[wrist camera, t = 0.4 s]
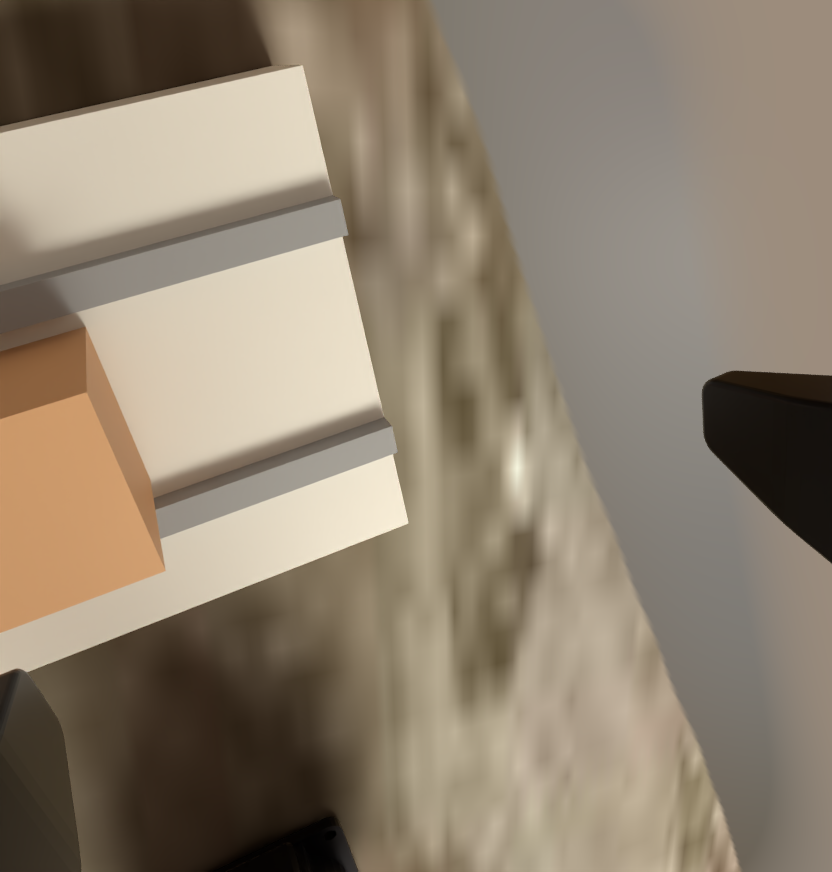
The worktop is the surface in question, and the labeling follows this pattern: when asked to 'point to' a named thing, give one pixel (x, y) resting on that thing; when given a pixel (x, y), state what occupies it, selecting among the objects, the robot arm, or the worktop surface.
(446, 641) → the worktop surface
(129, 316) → the slot board
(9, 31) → the worktop surface
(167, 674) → the worktop surface
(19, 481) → the orange-brown cube
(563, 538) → the worktop surface
